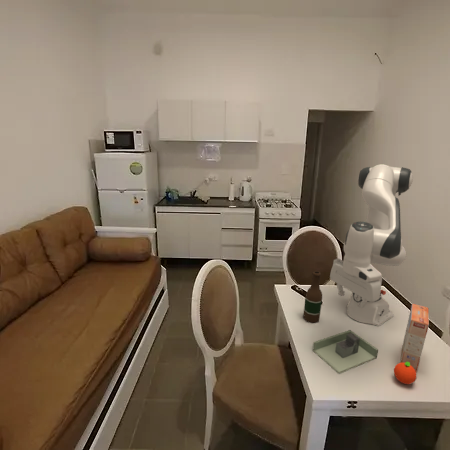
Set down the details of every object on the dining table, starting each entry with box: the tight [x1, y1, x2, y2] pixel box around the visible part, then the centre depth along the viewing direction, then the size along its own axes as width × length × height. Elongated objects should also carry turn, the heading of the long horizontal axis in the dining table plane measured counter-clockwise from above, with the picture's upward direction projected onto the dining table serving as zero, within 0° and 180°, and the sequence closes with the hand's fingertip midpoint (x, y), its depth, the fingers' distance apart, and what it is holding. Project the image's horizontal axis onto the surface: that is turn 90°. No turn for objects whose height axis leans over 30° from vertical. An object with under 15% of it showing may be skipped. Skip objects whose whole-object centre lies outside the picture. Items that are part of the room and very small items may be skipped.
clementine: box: [393, 362, 417, 385], centre depth 110 cm, size 8×7×7 cm
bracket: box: [335, 333, 360, 358], centre depth 123 cm, size 8×4×6 cm, turn 116°
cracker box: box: [399, 303, 430, 374], centre depth 119 cm, size 14×6×21 cm, turn 148°
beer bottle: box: [303, 270, 323, 324], centre depth 144 cm, size 8×8×24 cm
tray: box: [312, 329, 379, 375], centre depth 123 cm, size 20×14×4 cm
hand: (350, 300), depth 117 cm, fingers open, 8 cm apart
